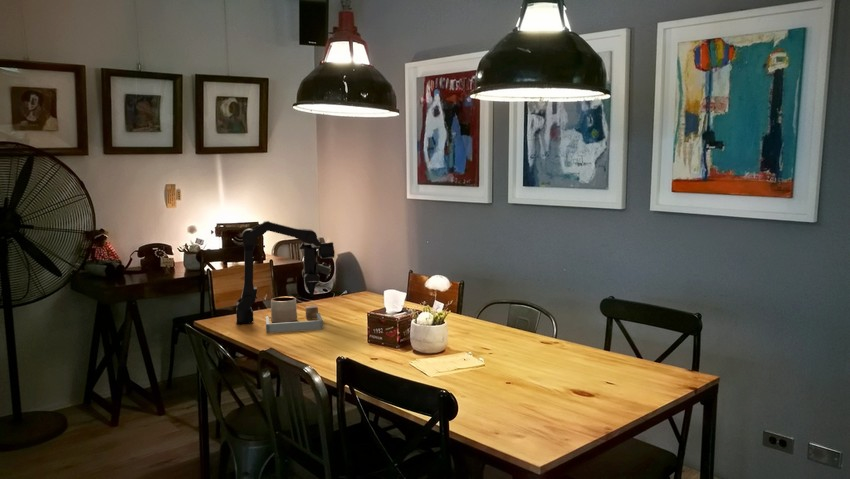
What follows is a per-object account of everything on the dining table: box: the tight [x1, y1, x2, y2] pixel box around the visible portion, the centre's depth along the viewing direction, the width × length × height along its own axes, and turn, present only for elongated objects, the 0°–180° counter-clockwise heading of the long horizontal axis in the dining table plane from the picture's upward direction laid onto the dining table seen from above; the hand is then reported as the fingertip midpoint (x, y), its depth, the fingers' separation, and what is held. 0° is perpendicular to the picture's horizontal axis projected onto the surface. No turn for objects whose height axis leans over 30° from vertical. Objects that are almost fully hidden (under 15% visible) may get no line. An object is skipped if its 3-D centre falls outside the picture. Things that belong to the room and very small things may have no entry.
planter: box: [270, 296, 298, 323], centre depth 289 cm, size 11×11×10 cm
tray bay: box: [265, 312, 324, 334], centre depth 279 cm, size 22×14×4 cm, turn 104°
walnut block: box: [305, 305, 319, 320], centre depth 295 cm, size 5×5×5 cm
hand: (311, 294), depth 294 cm, fingers open, 9 cm apart
